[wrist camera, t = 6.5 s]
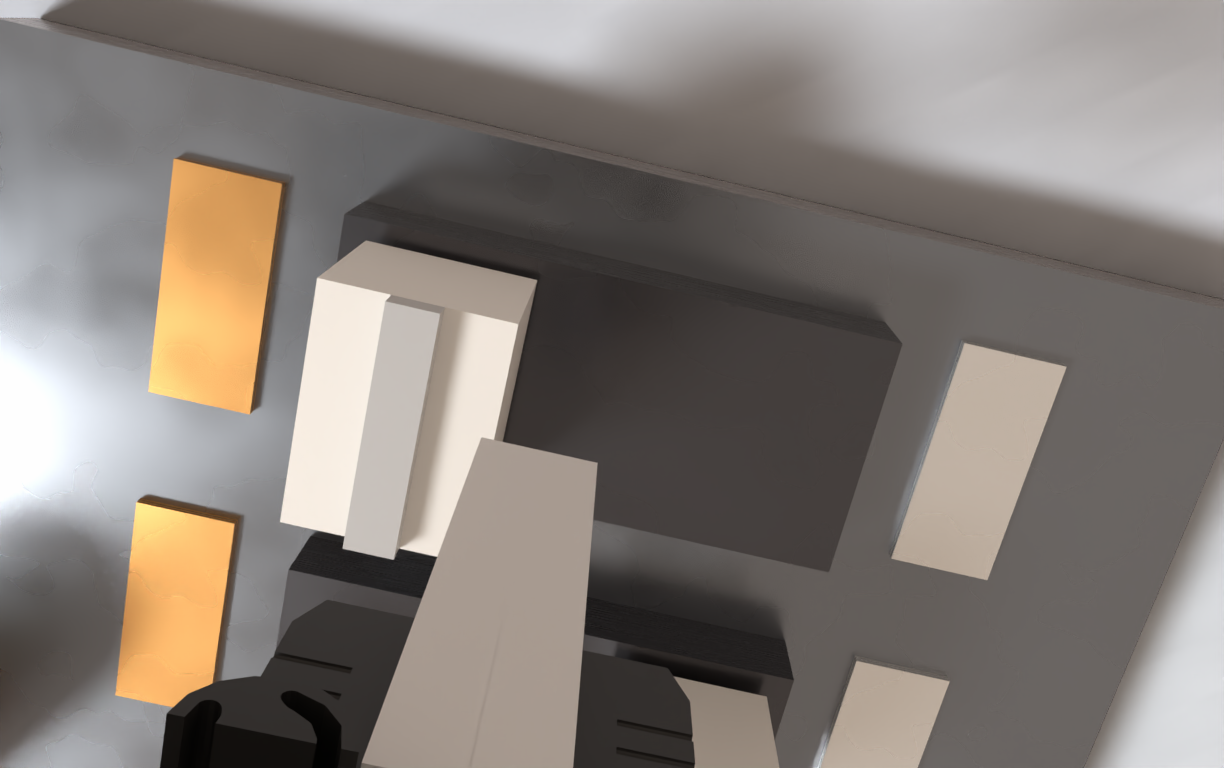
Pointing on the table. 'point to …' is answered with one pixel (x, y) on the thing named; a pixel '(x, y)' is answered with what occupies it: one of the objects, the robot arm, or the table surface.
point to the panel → (591, 200)
